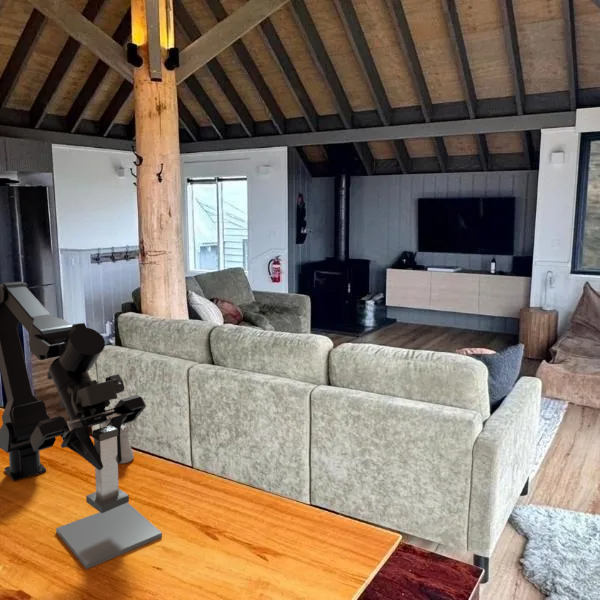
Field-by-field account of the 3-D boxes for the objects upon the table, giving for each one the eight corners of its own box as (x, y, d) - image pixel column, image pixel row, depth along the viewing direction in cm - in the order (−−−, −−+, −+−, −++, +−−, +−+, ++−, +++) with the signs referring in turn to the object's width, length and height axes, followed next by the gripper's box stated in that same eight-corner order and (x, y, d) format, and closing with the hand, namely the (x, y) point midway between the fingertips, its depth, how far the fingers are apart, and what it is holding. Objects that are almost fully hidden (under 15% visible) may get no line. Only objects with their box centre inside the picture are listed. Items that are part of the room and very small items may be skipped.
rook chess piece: (127, 465, 120) (126, 430, 118) (109, 463, 121) (107, 428, 119) (137, 456, 124) (136, 422, 123) (119, 454, 125) (118, 420, 124)
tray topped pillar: (86, 502, 93) (83, 429, 91) (113, 491, 97) (110, 421, 95) (101, 513, 90) (99, 438, 88) (129, 501, 94) (126, 429, 92)
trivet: (56, 532, 95) (56, 528, 95) (127, 506, 104) (127, 502, 103) (86, 569, 86) (86, 564, 85) (161, 536, 94) (161, 532, 94)
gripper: (33, 373, 85) (71, 463, 80) (139, 351, 99) (177, 426, 94) (15, 408, 92) (49, 494, 86) (116, 383, 106) (151, 455, 100)
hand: (110, 465), depth 92 cm, fingers closed on tray topped pillar, 3 cm apart
